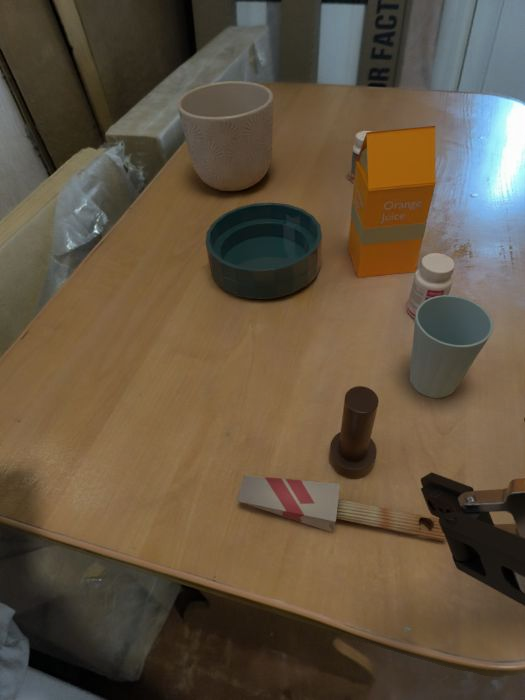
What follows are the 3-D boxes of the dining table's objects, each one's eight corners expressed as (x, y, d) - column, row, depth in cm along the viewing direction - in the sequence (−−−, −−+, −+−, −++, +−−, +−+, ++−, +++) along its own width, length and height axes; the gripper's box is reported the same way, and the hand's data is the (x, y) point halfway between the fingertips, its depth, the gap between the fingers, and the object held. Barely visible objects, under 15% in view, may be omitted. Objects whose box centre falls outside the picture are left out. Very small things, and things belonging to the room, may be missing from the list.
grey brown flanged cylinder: (370, 437, 51) (383, 376, 42) (377, 478, 47) (393, 420, 39) (327, 439, 51) (332, 379, 43) (331, 479, 48) (337, 423, 39)
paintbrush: (244, 463, 46) (449, 506, 43) (245, 475, 48) (441, 517, 45) (233, 499, 44) (450, 548, 40) (235, 510, 46) (442, 557, 42)
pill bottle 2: (420, 327, 61) (434, 279, 55) (399, 306, 64) (410, 257, 58) (449, 316, 62) (466, 267, 56) (427, 295, 65) (441, 246, 59)
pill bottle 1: (376, 185, 86) (382, 140, 80) (351, 186, 86) (355, 142, 80) (373, 172, 89) (378, 129, 83) (348, 174, 89) (352, 130, 83)
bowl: (315, 231, 77) (316, 199, 73) (325, 299, 66) (326, 266, 61) (215, 237, 78) (210, 206, 74) (207, 305, 67) (201, 273, 62)
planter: (266, 154, 97) (261, 75, 86) (285, 193, 86) (283, 108, 75) (188, 167, 96) (172, 88, 84) (197, 209, 84) (181, 124, 73)
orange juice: (415, 272, 69) (446, 139, 54) (357, 278, 69) (372, 146, 54) (401, 242, 74) (426, 112, 59) (347, 247, 74) (358, 119, 59)
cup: (390, 361, 58) (404, 300, 50) (448, 351, 58) (471, 289, 50) (413, 410, 53) (433, 351, 45) (477, 399, 53) (507, 339, 45)
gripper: (991, 357, 15) (543, 357, 30) (723, 598, 11) (368, 455, 26) (1040, 562, 15) (578, 459, 31) (806, 857, 11) (413, 569, 27)
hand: (482, 457), depth 28 cm, fingers open, 8 cm apart
